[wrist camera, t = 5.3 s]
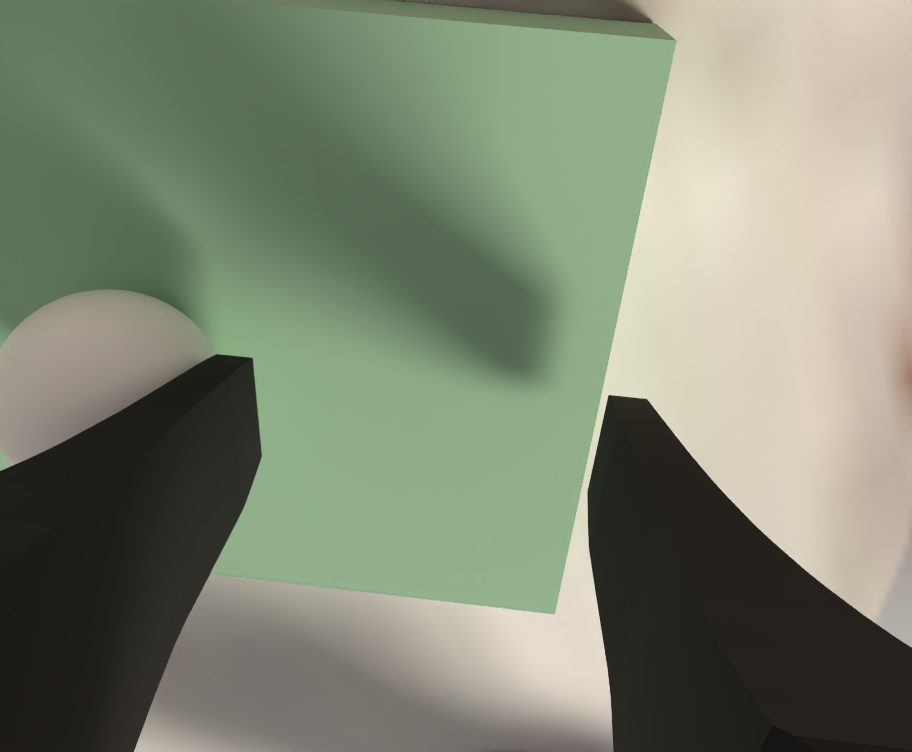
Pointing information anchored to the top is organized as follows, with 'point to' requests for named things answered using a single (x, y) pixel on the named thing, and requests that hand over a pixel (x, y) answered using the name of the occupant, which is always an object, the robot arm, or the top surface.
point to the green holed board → (353, 253)
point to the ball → (88, 364)
